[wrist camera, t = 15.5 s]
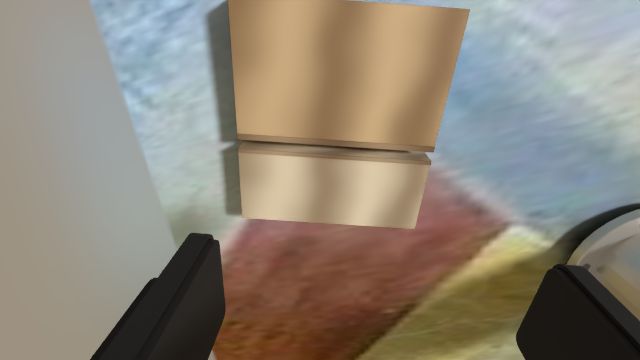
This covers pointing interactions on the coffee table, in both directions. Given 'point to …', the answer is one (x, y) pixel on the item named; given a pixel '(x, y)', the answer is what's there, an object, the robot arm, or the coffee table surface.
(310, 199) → the laid board
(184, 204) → the coffee table surface
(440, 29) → the plank
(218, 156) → the coffee table surface
